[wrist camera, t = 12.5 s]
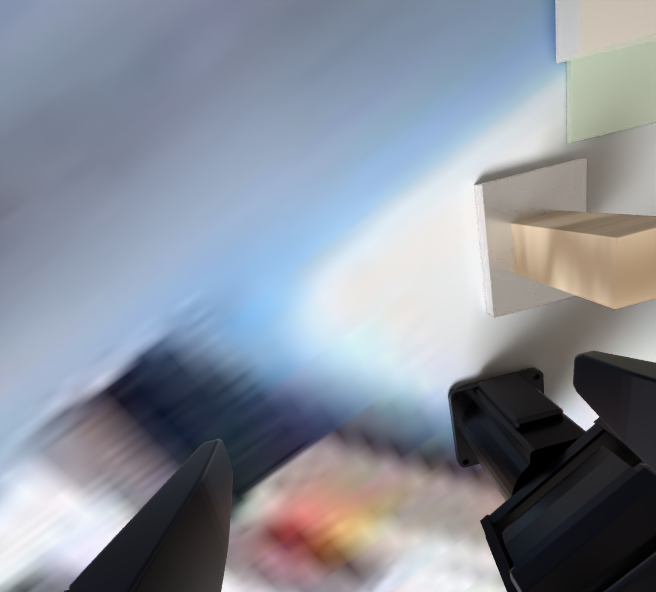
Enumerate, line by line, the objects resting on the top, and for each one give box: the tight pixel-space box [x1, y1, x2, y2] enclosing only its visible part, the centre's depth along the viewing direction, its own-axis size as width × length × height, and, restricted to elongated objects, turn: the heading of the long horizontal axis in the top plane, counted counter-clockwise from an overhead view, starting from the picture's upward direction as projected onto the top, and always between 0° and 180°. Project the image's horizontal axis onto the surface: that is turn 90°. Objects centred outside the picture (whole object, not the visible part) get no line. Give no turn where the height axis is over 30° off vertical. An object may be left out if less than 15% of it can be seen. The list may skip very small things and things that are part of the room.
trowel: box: [474, 158, 656, 318], centre depth 17 cm, size 8×6×8 cm
